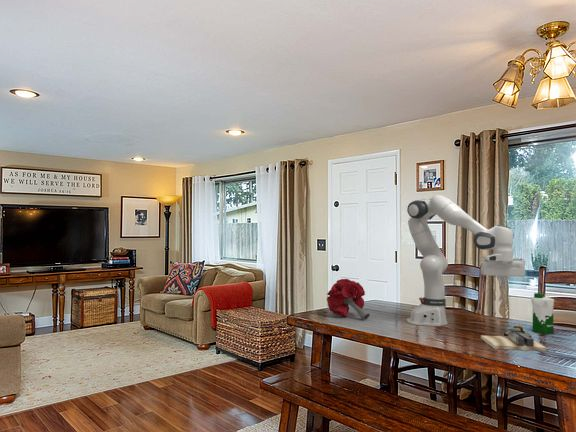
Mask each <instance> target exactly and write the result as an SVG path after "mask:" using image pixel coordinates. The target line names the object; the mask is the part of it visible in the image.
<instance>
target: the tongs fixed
mask: <svg viewBox="0 0 576 432" xmlns="http://www.w3.org/2000/svg"><path fill="white" fill-rule="evenodd" d="M505 329H506V331H510V332H514V333H515V331H521V329H519V328H513V327H506V328H505ZM516 334H517V335H519V336H520V337H522V338H524V341H525V345H527V346H534V341H535V340H534V338H532V337H531V338H530V337H528V336H526V335H525V334H523V333H521V332H516Z"/></svg>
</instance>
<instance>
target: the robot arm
mask: <svg viewBox="0 0 576 432" xmlns="http://www.w3.org/2000/svg"><path fill="white" fill-rule="evenodd" d="M406 211H407V214H408V216H409V217H410V218H409V219H408V221H407V224H408V228H409V229H408V230H409V232H410V235H411V237H412V240H413V243H414V245H415V247H416V249H417V250H418V252H419V253H420V254H421V256H422V257H423V258H422V259H421V260H420V262H419V267H420V270H421V273H422V279H423V283H424V285H423V287H424V290H423V291H424V293H423V294H424V296H423V297H421V296H420V297H419V298H418V300H419V301H420V304H419V305H417V306H416V307H414V308H413V309H412V310H411V312H410V317H407V318H406V322H407V323H408V324H411V325H419V326H430V327H431V326H432V327H442V326H447V325H449V323H448V320H447V314H446V307H447V306H446V305H447V303H446V301H447V300H446V297H445V295H446V291H445V288H446V287H445V283H444V279H443V273H444V272H445V271H446V270H447V268H448V265H449V262H448V259H447V258H446V257H445V255H444V253H443V252H442V250H441V248H440V247H439V245H438V244H437V242H436V239H435V237H434V236H433V233H432V231H431V228H430V227H429V224H428V221H429V220H433V217H435V216H438V217H439V218H440V219H441V220H442V221H444V222H446V223H447V224H449V225H453V226H456V227H460V228H463V229H465V230H467V231H469V232H471V233H472V234H473V235H474V236H473V240H472V241H473V245H474V246H475V247H476V249H479V250H482V251H483V250H484V251H485V250H486V251H492V253H490V254H486V255H483V257H482V260H483V261H482V262H481V264H480V274H481V275H482V276H491V277H494V276H495V277H496V279H497V281H498V285H499V286H507V282H508V280H509V278H510V277H518V278H524V277H525V276H526V268H525V265H526V261H525V259H523V258H522V257H514V250H513V245H514V234H513V229H512V228H511V227H510V226H509V225H508V226H507V225H501V224H496V225H494V226H493V227H491V228H487V227H486V226H484V225H482V224H481V223H479V222H478V221H477V220H476V219H474V218H473V217H471V216H470V215H469V214H468V212H467V213H466V212H465V210H463V209H462V208H461V207H460V206H459V205H457V203H455V202H454V201H452V200H451V199H449V198H448V197H446V196H444V195H441V194H435V195H434V196H432V197H431V198H421V199H418V200H417V199H416V200H413V201H411V202H410V203H409V204H408V206H407V210H406ZM502 277H503V278H504V280H503V281H502Z"/></svg>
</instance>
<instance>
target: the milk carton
mask: <svg viewBox="0 0 576 432" xmlns="http://www.w3.org/2000/svg"><path fill="white" fill-rule="evenodd" d="M533 294H534V295H533V297H532V296H531V298H530V300H531V304H532V305H531V306H532V327H531V328H532V330H531V332H533V333H535V334H536V333H537V334H540V333H541V334H542V335H551V334H554V333H555V332H554V331H555V327H554V304H555V299H554V298H550V297H544V294H543V293H538V292H537V293H536V292H534V293H533ZM541 334H540V335H541Z"/></svg>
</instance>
